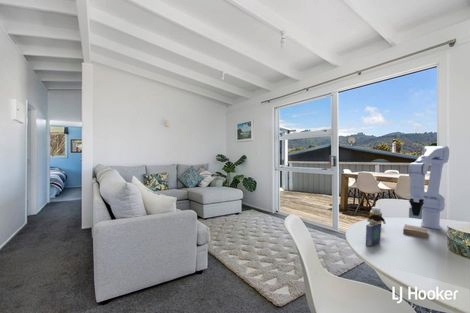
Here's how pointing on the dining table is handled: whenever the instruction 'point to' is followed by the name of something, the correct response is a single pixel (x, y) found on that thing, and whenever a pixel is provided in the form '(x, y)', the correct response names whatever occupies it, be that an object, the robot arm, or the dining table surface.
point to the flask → (373, 233)
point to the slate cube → (414, 215)
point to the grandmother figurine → (376, 216)
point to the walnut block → (415, 231)
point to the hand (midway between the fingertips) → (416, 214)
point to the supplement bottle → (373, 213)
